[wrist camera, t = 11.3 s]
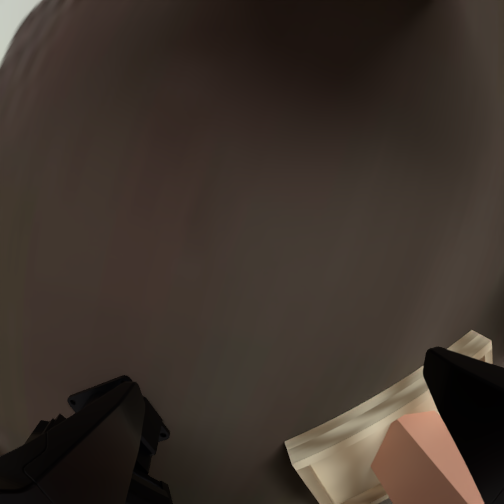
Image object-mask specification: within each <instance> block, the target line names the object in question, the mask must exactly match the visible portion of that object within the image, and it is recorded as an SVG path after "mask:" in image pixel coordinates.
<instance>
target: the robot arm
mask: <svg viewBox="0 0 504 504" xmlns="http://www.w3.org/2000/svg"><path fill="white" fill-rule="evenodd" d="M423 377H424V379H425V382H426V384H427V386H428V389H429V391H430V394H431V396H432V398H433V401H434V403H435V406H436V408H437V410H438V412H439V414H440V416H441V418H442V420H443V422H444V424H445V425H446V427H447V429H448V431H449V433H450V435H451V437H452V439H453V440H454V442H455V444H456V446H457V448H458V450H459V452H460V454H461V456H462V458H463V460H464V462H465V464H466V466H467V468H468V470H469V472H470V474H471V476H472V478H473V480H474V482H475V484H476V487H477V489H478V491H479V493H480V495H481V497H482V499H483V502H484V504H504V368H503V367H500V366H497V365H493V364H490V363H487V362H484V361H481V360H478V359H475V358H472V357H469V356H466V355H463V354H460V353H457V352H454V351H451V350H448V349H445V348H442V347H434V348H430V349H428V350H427V352H426V356H425V361H424V367H423ZM123 381H126V382H123ZM72 400H74V401H75V402H73V401H72ZM68 403H69V405H70V406H71V407H72V409H73V410H74V411H75V414H74V415H72V416H70V417H69V418H67V419H66V418H65V417H64V416H62V415H61V414H59V415H58V417H57V418H56V419H55V420H54V419H53V418H52V420H51V421H50V422H48V421H43V420H41V421H40V422H39V424H38V425H37V427H36V428H35V429H34V431H33V432H32V434H31V435H30V437H29V438H28V440H27V441H26V443H25V444H24V445H23V446H21V447H19V448H17V449H15V450H13V451H11V452H9V453H6V454H4V455H2V456H0V504H173V503H172V499H171V495H170V491H169V487H168V484H166V483H164V482H162V481H160V482H159V481H157V480H156V479H154V478H152V477H150V476H148V472H149V467H150V462H151V457H152V455H155V454H156V450H157V445H158V442H160V441H163V440H166V439H168V438H169V435H170V432H169V430H168V429H167V428H166V426H165V425H164V424H163V423H162V419H161V417H160V416H159V415H158V413H157V412H156V411H155V409H154V408H153V407H152V405H151V404H150V403H149V401H148V400H147V399H146V398H145V397H144V396H142V394H141V391H140V388H139V385H138V384H137V383H136V382H133V381H132V380H131V379H130V378H129V377H128V376H125V375H123V376H120V377H117V378H115V379H112V380H110V381H107V382H105V383H102V384H99V385H97V386H94V387H91V388H89V389H86V390H83V391H81V392H78V393H75V394H73V395H70V396H69V398H68ZM162 433H165V435H164V434H162Z"/></svg>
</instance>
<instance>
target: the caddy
mask: <svg viewBox="0 0 504 504" xmlns="http://www.w3.org/2000/svg"><path fill="white" fill-rule="evenodd" d="M371 468H372V470H373V471H374V473H375V475H376V476H377V478H378V480H379V481H380V483H381V485H382V486H383V488H384V489H385V491H386V493H387V494H388V496H389V498H390V499H391V501H392V503H393V504H484V502H483V499H482V497H481V495H480V493H479V491H478V489H477V487H476V484H475V482H474V480H473V478H472V476H471V474H470V472H469V470H468V468H467V466H466V464H465V462H464V460H463V458H462V456H461V454H460V452H459V450H458V448H457V446H456V444H455V442H454V440H453V439H452V437H451V435H450V433H449V431H448V429H447V427H446V425H445V424H444V422H443V420H442V418H441V416H440V415H439V414H438V413H437V412H436V411H435V410H434V411H428V412H421V413H413V414H406V415H403V416H402V417H400V418H398V419H397V420H395V421H393V422H392V423H391V424H390V427H389V429H388V431H387V433H386V435H385V438H384V440H383V442H382V444H381V446H380V448H379V450H378V452H377V454H376V456H375V458H374V460H373V462H372V464H371Z"/></svg>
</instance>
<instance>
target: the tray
mask: <svg viewBox="0 0 504 504" xmlns="http://www.w3.org/2000/svg"><path fill="white" fill-rule="evenodd" d="M447 349H448V350H451V351H454V352H457V353H460V354H463V355H466V356H469V357H472V358H475V359H478V360H481V361H484V362H487V363H490V364H493V363H492V340H490V339H488V338H486V337H484V336H482V335H480V334H478V333H476V332H475V331H473V330H471V331H470V332H468V333H467V334H466V335H464V336H463V337H462V338H461V339H459V340H458V341H457V342H455V343H454V344H453V345H451V346H450V347H449V348H447ZM423 367H424V366H422V367H421V368H419V369H418V370H416V371H415V372H413V373H412V374H410V375H409V376H407V377H405V378H404V379H402V380H401V381H399V382H398V383H396V384H394V385H393V386H391V387H390V388H388V389H386V390H385V391H383V392H381V393H380V394H378V395H376V396H374V397H373V398H371V399H369V400H367V401H366V402H364V403H362V404H360V405H358V406H357V407H355V408H353V409H351V410H349V411H347V412H345V413H344V414H342V415H340V416H338V417H336V418H334V419H332V420H330V421H328V422H326V423H324V424H322V425H320V426H318V427H315V428H313V429H311V430H309V431H307V432H305V433H303V434H300V435H298V436H296V437H294V438H291V439H289V440H287V441H284V442H285V445H286V448H287V451H288V454H289V457H290V461H291V464H292V466H293V467H294V468H295V470H296V471H297V473H298V474H299V476H300V477H301V478H302V480H303V481H304V483H305V484H306V486H307V487H308V488H309V490H310V491H311V493H312V494H313V495H314V497H315V498H316V499H317V501H318V502H319V504H378V503H380V502H382V501H384V500H385V499H387V498H389V496H388V494H387V493H386V491H385V489H384V488H383V486H382V485H381V483H380V481H379V480H378V478H377V476H376V475H375V473H374V471H373V470H372V468H371V464H372V462H373V460H374V458H375V456H376V454H377V452H378V450H379V448H380V446H381V444H382V442H383V440H384V438H385V435H386V433H387V431H388V429H389V427H390V424H391V423H392V422H393V421H395V420H397V419H398V418H400V417H402V416H403V415H406V414H413V413H421V412H428V411H434V410H435V411H436V412H437V413H438V414H439V412H438V410H437V408H436V406H435V403H434V401H433V398H432V396H431V394H430V391H429V389H428V386H427V384H426V382H425V379H424V377H423ZM439 415H440V414H439Z"/></svg>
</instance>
